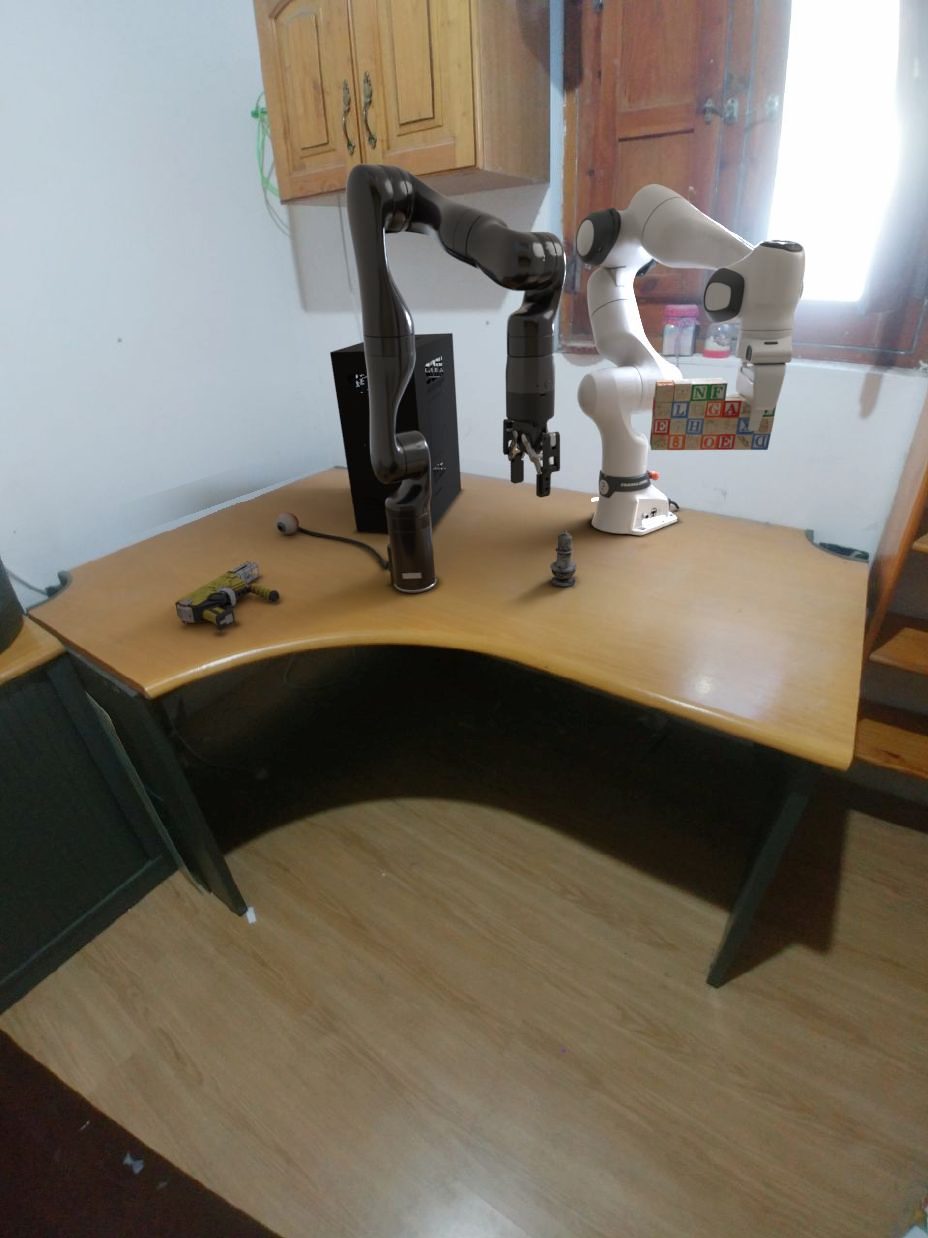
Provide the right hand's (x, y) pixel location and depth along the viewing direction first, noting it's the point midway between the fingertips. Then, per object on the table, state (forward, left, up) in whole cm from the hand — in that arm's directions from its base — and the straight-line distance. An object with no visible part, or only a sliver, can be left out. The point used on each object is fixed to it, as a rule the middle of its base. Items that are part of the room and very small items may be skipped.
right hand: (748, 425), depth 115 cm
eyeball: (+79, -77, -32) cm, 115 cm away
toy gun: (+96, -41, -32) cm, 109 cm away
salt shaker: (+31, -15, -32) cm, 47 cm away
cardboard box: (+43, -77, -32) cm, 94 cm away
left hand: (+48, 0, -4) cm, 48 cm away
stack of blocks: (+6, -4, -4) cm, 8 cm away
